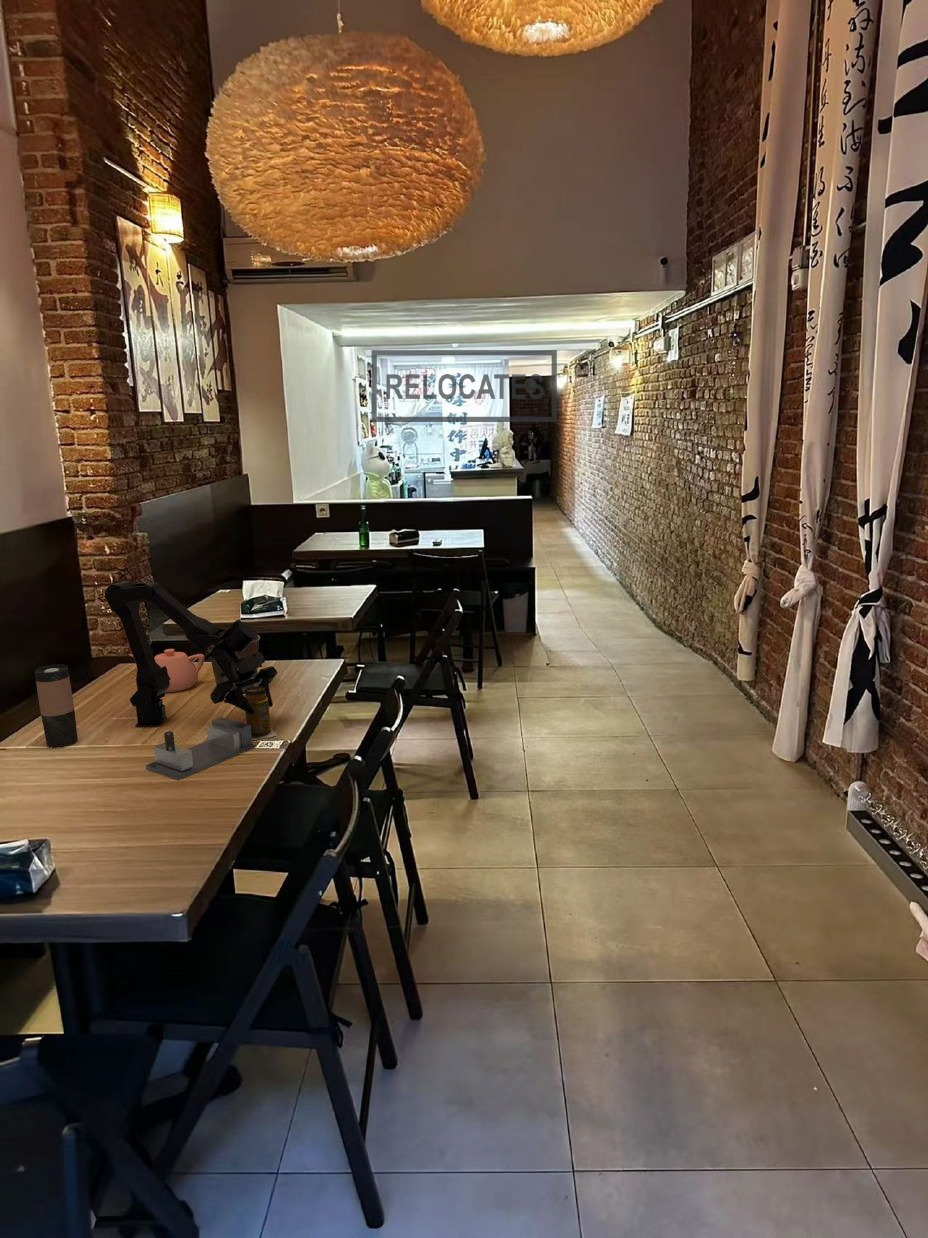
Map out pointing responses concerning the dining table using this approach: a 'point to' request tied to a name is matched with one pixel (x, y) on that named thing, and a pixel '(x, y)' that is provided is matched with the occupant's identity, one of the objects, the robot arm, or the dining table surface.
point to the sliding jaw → (173, 754)
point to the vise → (212, 748)
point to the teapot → (179, 668)
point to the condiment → (259, 713)
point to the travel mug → (56, 705)
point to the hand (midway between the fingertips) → (262, 709)
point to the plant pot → (245, 654)
